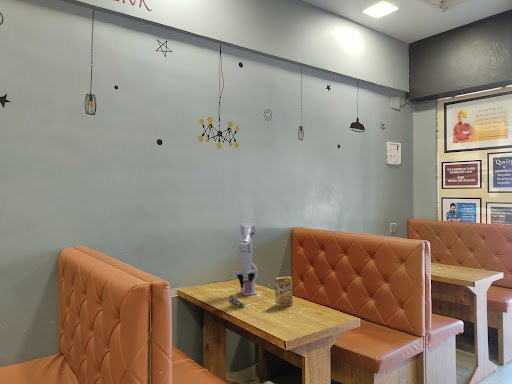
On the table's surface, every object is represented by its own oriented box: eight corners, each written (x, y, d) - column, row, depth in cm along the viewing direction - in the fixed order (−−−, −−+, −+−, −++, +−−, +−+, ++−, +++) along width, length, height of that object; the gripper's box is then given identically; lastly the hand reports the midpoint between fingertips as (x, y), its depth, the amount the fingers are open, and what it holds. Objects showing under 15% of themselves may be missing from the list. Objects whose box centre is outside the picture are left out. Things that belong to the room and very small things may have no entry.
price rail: (229, 299, 213) (229, 295, 213) (231, 299, 213) (231, 295, 213) (240, 308, 196) (240, 303, 196) (242, 307, 197) (242, 303, 197)
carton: (244, 293, 202) (244, 282, 202) (240, 289, 209) (240, 279, 209) (251, 292, 203) (251, 281, 204) (247, 289, 211) (246, 278, 211)
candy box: (277, 307, 197) (277, 278, 197) (275, 304, 201) (274, 277, 201) (292, 305, 200) (292, 277, 200) (290, 303, 204) (289, 275, 204)
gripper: (235, 265, 200) (236, 290, 200) (259, 263, 205) (260, 287, 205) (231, 263, 207) (232, 287, 206) (255, 261, 212) (255, 284, 212)
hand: (246, 287), depth 206 cm, fingers closed on carton, 4 cm apart
